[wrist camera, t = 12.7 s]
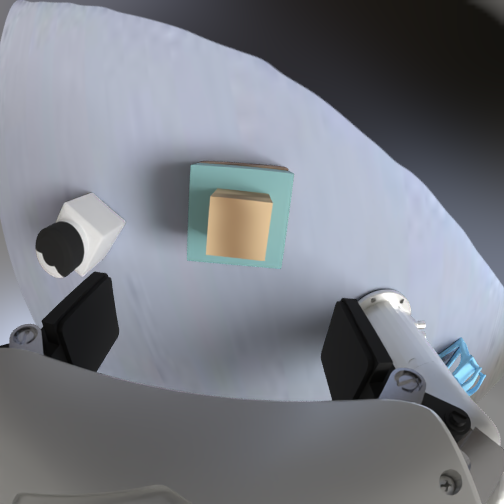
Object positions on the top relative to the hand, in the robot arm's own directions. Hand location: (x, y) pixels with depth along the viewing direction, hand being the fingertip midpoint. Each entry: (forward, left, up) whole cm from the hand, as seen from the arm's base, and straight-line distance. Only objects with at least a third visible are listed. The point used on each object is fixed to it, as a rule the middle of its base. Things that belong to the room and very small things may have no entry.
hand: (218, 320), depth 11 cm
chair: (-48, +26, -26) cm, 60 cm away
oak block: (0, 0, -18) cm, 18 cm away
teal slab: (0, 0, -22) cm, 22 cm away
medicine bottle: (+20, +5, -26) cm, 33 cm away
